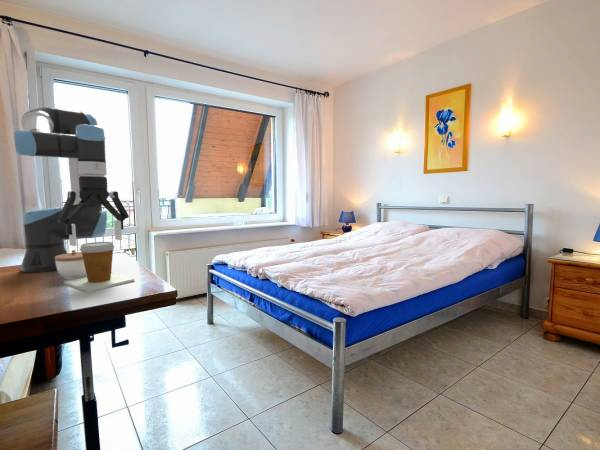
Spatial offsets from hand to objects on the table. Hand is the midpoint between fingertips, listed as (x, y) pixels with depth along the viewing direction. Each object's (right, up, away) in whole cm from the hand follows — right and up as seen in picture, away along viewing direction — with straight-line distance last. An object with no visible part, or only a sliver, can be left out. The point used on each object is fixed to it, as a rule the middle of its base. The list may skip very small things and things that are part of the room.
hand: (97, 242), depth 103 cm
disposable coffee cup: (0, -13, +1) cm, 13 cm away
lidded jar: (-13, -13, +8) cm, 20 cm away
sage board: (0, -13, +1) cm, 13 cm away
